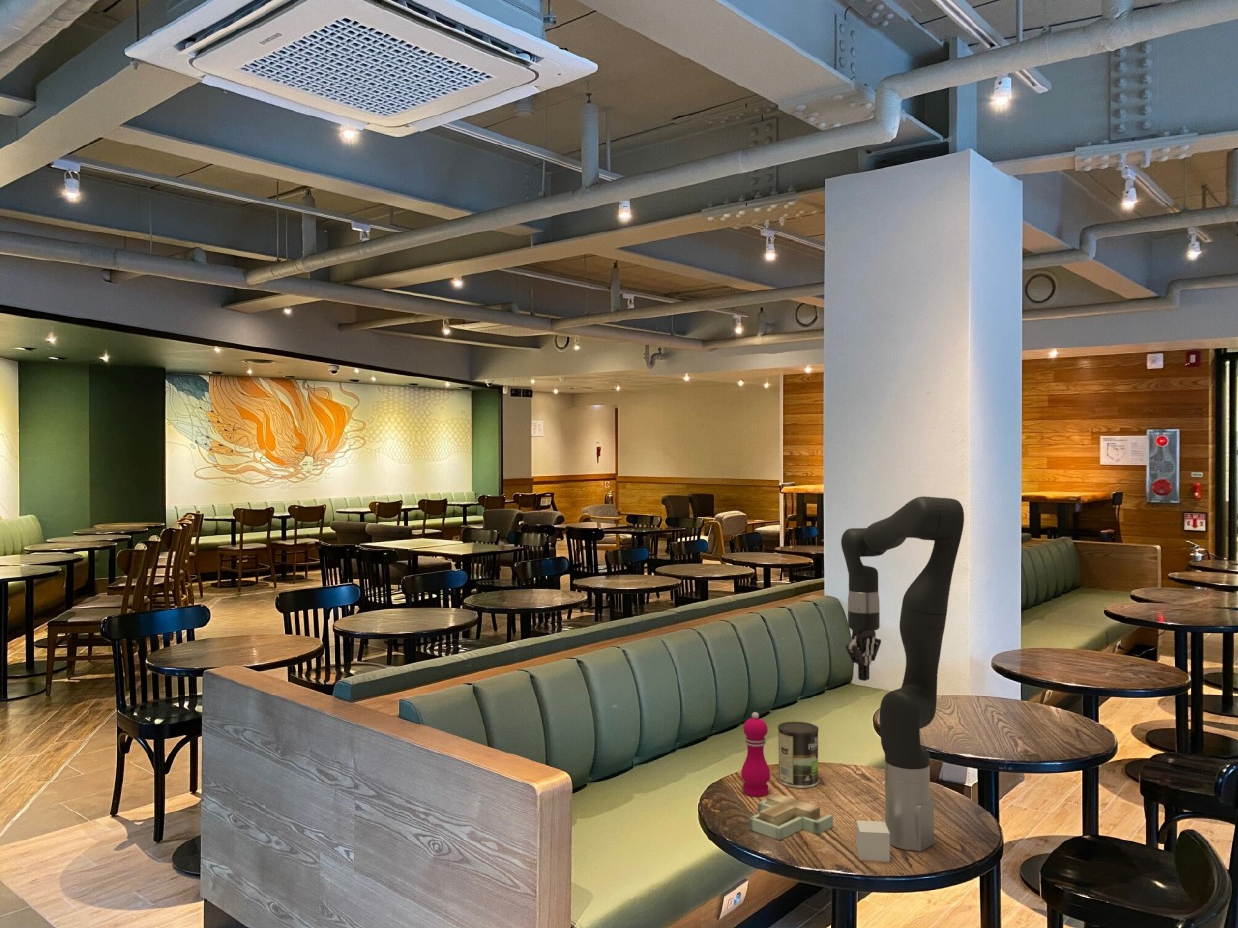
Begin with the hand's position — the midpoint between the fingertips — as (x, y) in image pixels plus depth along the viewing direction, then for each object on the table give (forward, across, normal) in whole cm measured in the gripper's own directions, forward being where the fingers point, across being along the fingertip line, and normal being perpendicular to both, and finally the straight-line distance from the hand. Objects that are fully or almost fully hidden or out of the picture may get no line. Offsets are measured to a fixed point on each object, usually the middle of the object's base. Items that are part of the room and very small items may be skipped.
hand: (863, 679), depth 218 cm
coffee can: (+29, -2, +18) cm, 34 cm away
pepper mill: (+29, -16, +21) cm, 39 cm away
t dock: (+29, -28, +4) cm, 40 cm away
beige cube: (+29, -27, -18) cm, 44 cm away
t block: (+29, -28, +5) cm, 40 cm away
